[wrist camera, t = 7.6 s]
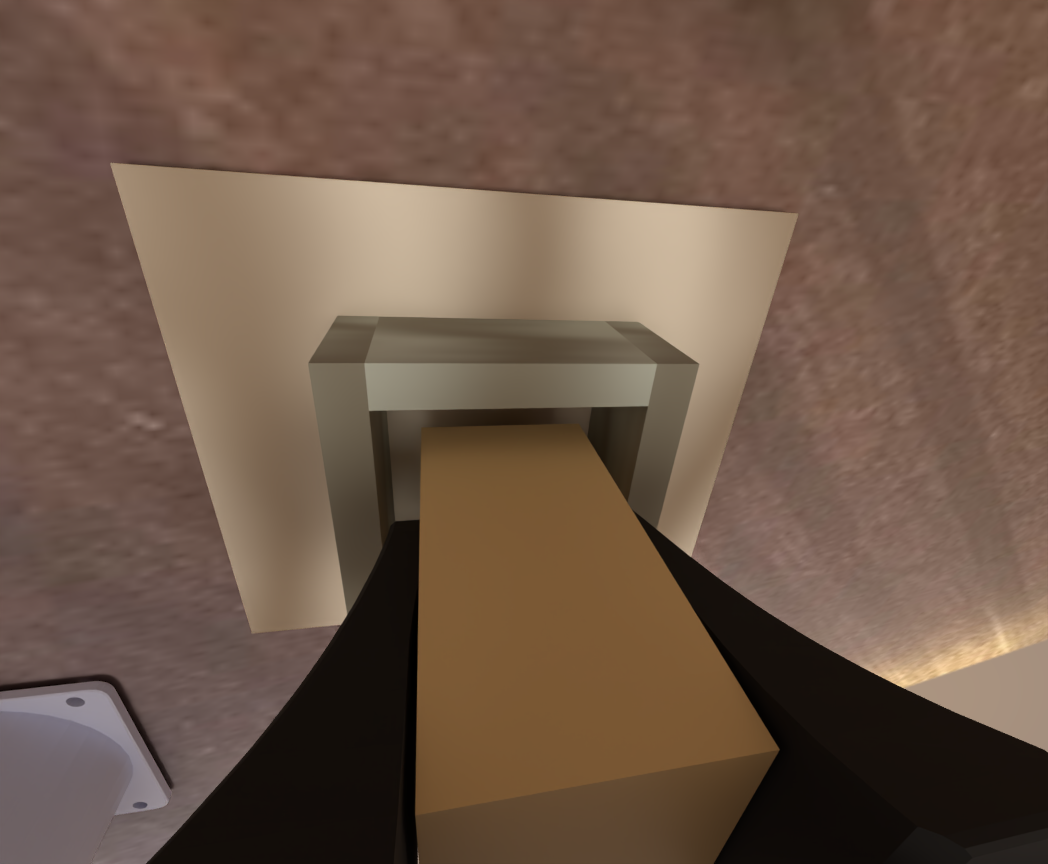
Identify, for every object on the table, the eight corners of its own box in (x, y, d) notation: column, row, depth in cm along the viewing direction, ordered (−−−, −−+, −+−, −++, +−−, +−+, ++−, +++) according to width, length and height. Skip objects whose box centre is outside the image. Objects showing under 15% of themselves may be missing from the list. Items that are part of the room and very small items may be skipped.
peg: (425, 552, 13) (427, 959, 6) (421, 427, 11) (415, 816, 4) (562, 541, 14) (694, 895, 7) (578, 423, 12) (780, 749, 5)
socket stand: (257, 619, 17) (213, 736, 13) (126, 163, 10) (-32, 157, 6) (673, 579, 20) (726, 666, 16) (783, 212, 13) (912, 225, 10)
